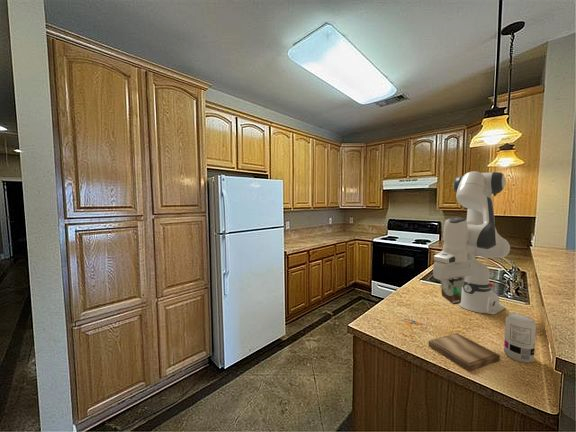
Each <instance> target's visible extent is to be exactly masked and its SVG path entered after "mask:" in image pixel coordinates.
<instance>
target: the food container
mask: <svg viewBox="0 0 576 432" xmlns="http://www.w3.org/2000/svg"><path fill="white" fill-rule="evenodd" d="M448 284H449V285H450V289H445V288H444V284H443V282H442V281H441V280H440V288H441V297H442V298H444V299H445V300H447V301H448V302H449V303H450V304H452V305H459V303H461V293H462V286H463V285H464V282H463V280H462V278H461V277H459V278H453V279H449V282H448Z"/></svg>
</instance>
